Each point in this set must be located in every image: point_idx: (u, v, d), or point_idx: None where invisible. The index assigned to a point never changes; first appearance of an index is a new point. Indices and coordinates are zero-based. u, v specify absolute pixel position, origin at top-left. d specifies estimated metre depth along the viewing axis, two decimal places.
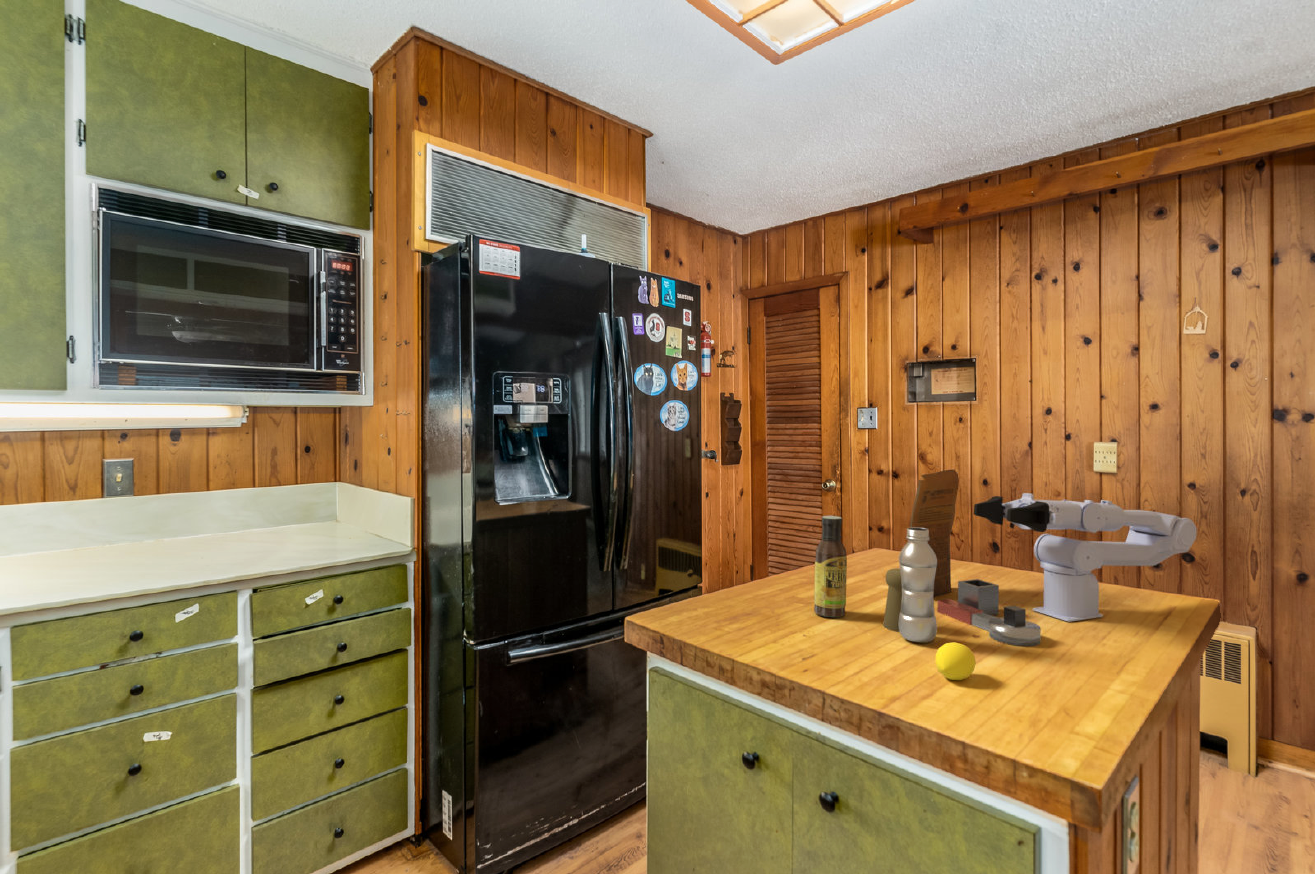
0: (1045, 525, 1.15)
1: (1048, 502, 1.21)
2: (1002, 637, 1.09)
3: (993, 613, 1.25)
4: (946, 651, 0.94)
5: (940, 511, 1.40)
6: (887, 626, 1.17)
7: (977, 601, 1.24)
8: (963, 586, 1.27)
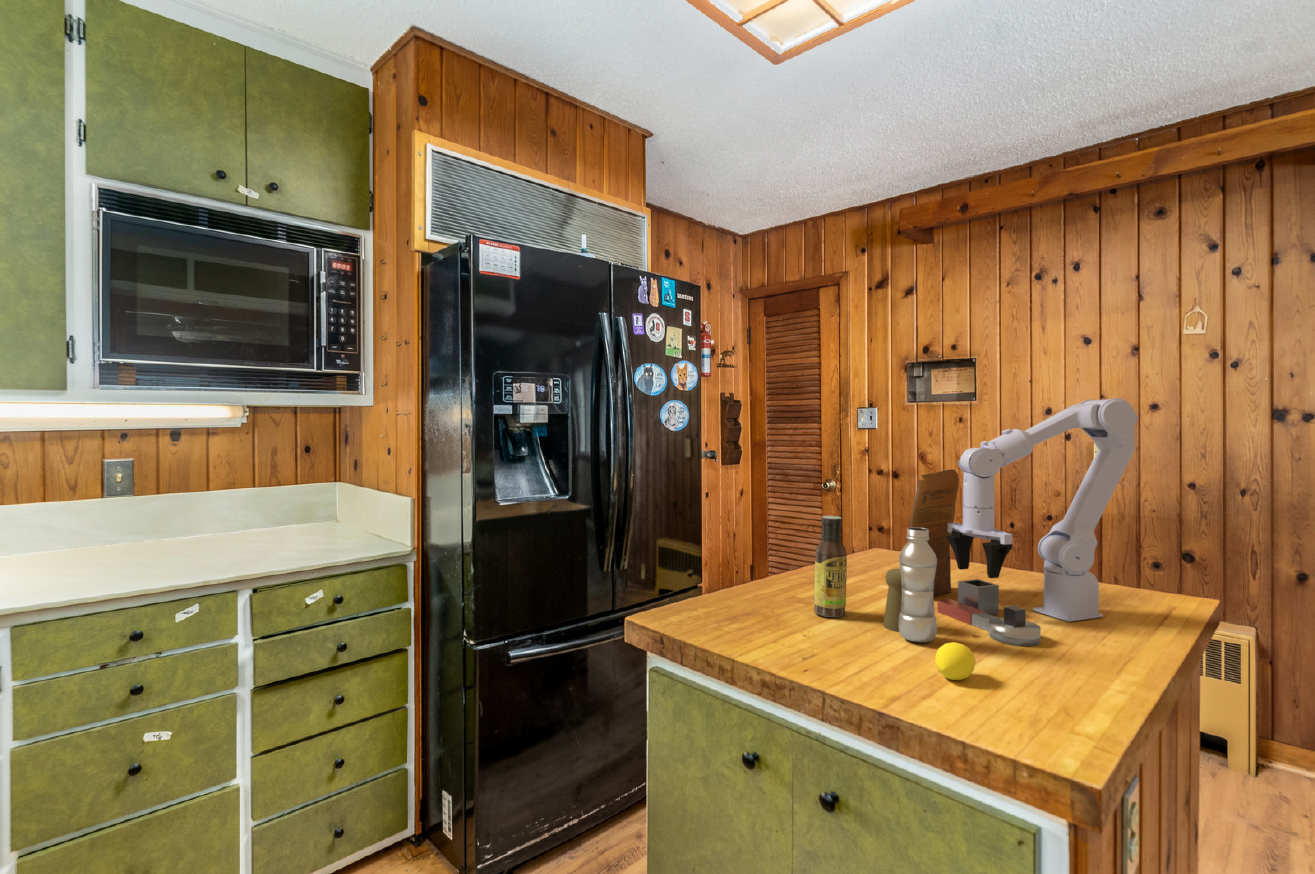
0: (1008, 546, 1.21)
1: (973, 512, 1.24)
2: (1002, 637, 1.09)
3: (993, 613, 1.25)
4: (946, 651, 0.94)
5: (940, 511, 1.40)
6: (887, 626, 1.17)
7: (977, 601, 1.24)
8: (963, 586, 1.27)
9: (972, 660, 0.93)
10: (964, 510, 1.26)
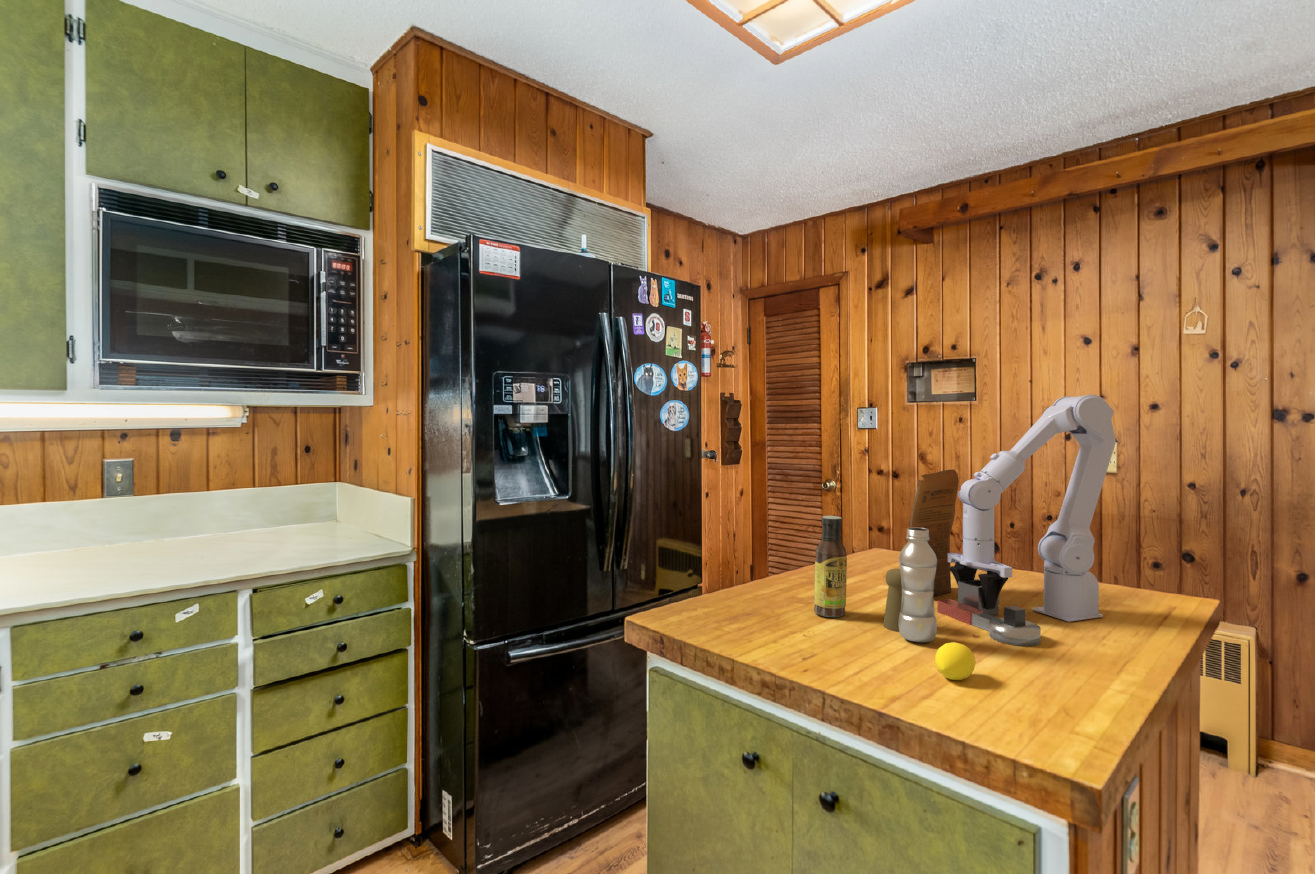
0: (1004, 578, 1.22)
1: (973, 544, 1.24)
2: (1002, 637, 1.09)
3: (993, 613, 1.25)
4: (946, 651, 0.94)
5: (940, 511, 1.40)
6: (887, 626, 1.17)
7: (977, 601, 1.24)
8: (963, 586, 1.27)
9: (972, 660, 0.93)
10: (964, 541, 1.26)
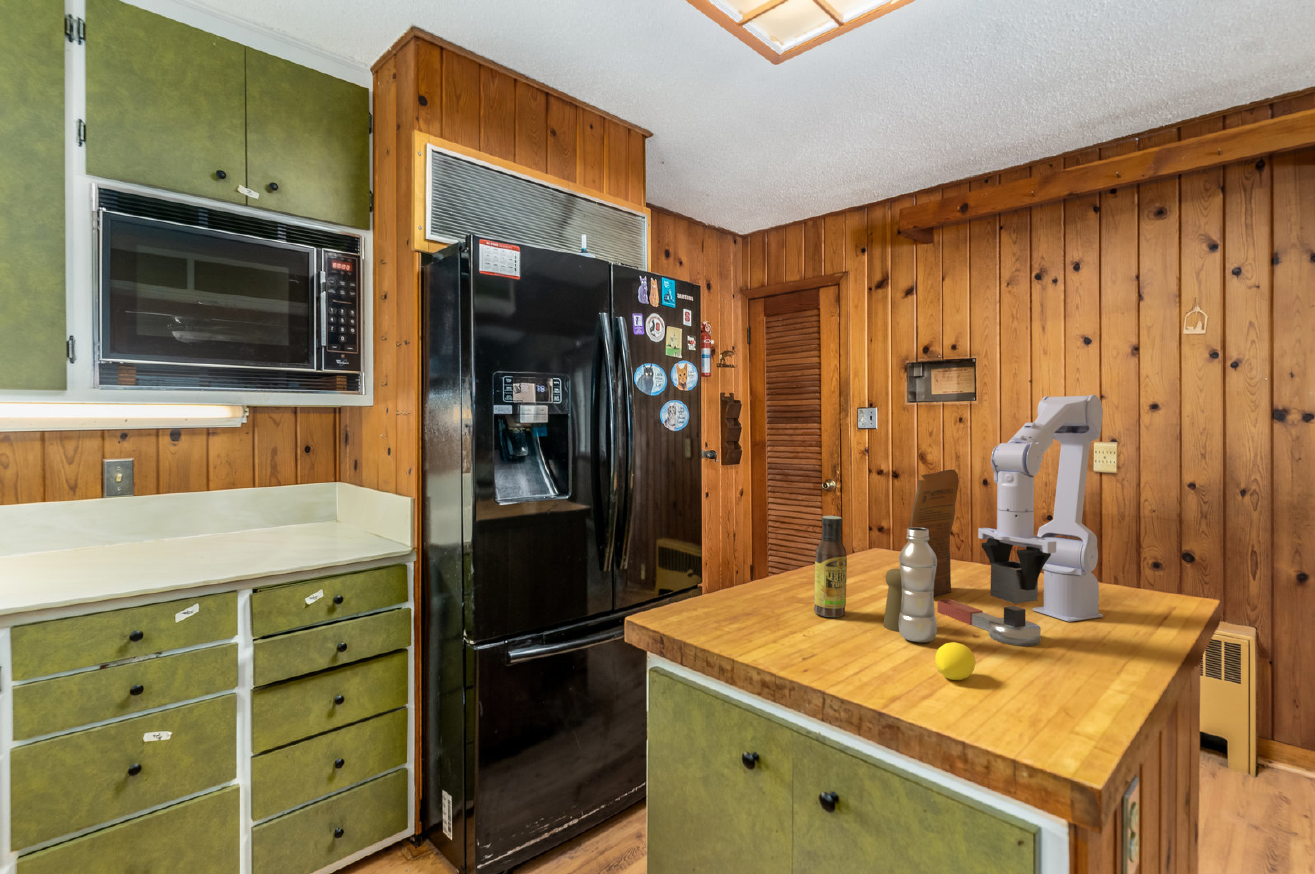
0: (1047, 554, 1.07)
1: (1010, 516, 1.09)
2: (1002, 637, 1.09)
3: (1032, 599, 1.09)
4: (946, 651, 0.94)
5: (940, 511, 1.40)
6: (887, 626, 1.17)
7: (1014, 585, 1.08)
8: (997, 568, 1.11)
9: (972, 660, 0.93)
10: (999, 514, 1.11)
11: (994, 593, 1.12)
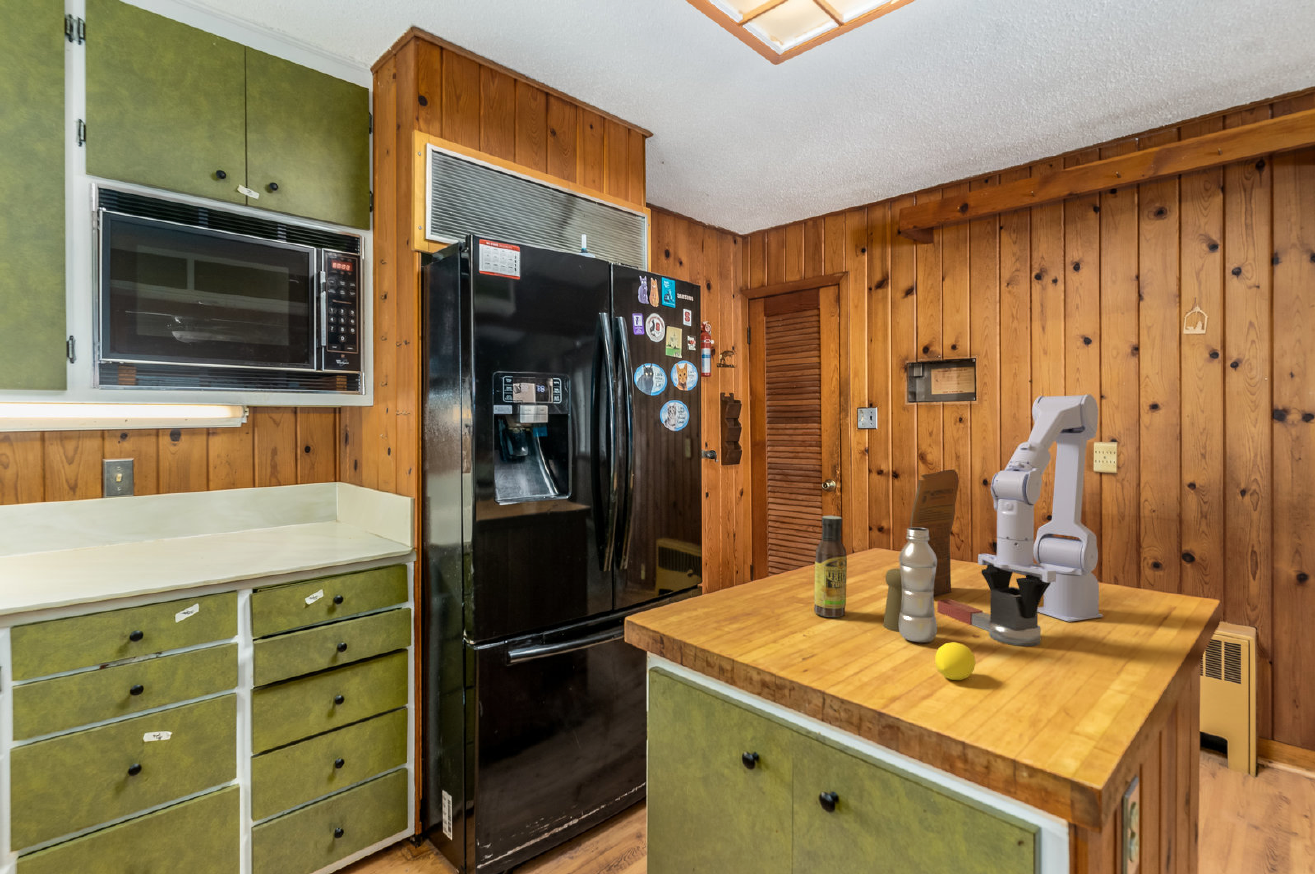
0: (1046, 583, 1.07)
1: (1010, 544, 1.09)
2: (1002, 637, 1.09)
3: (1032, 626, 1.09)
4: (946, 651, 0.94)
5: (940, 511, 1.40)
6: (887, 626, 1.17)
7: (1013, 612, 1.08)
8: (997, 595, 1.12)
9: (972, 660, 0.93)
10: (999, 541, 1.11)
11: (994, 620, 1.12)
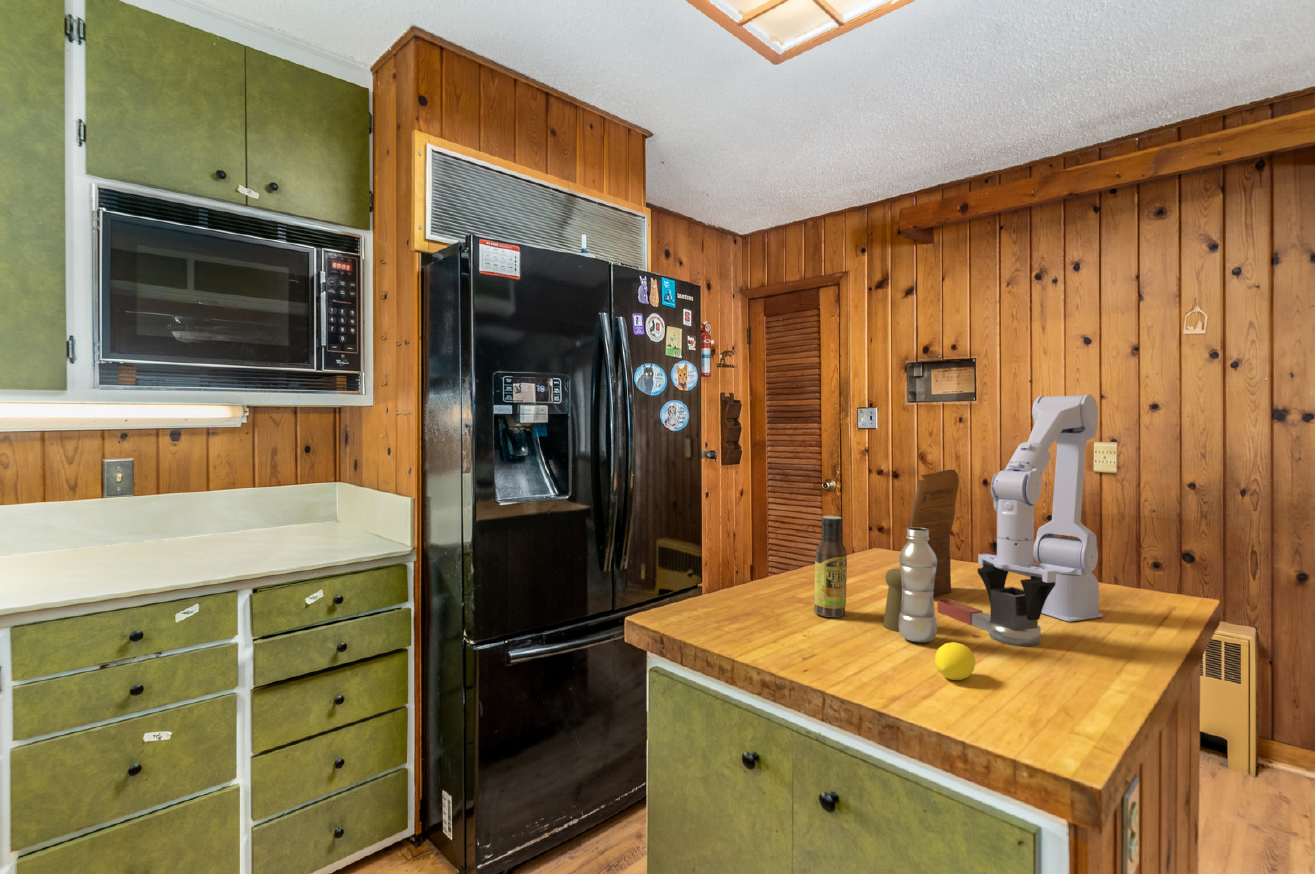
0: (1051, 584, 1.06)
1: (1010, 544, 1.09)
2: (1002, 637, 1.09)
3: (1032, 626, 1.09)
4: (946, 651, 0.94)
5: (940, 511, 1.40)
6: (887, 626, 1.17)
7: (1013, 612, 1.08)
8: (997, 595, 1.12)
9: (972, 660, 0.93)
10: (999, 541, 1.11)
11: (994, 620, 1.12)
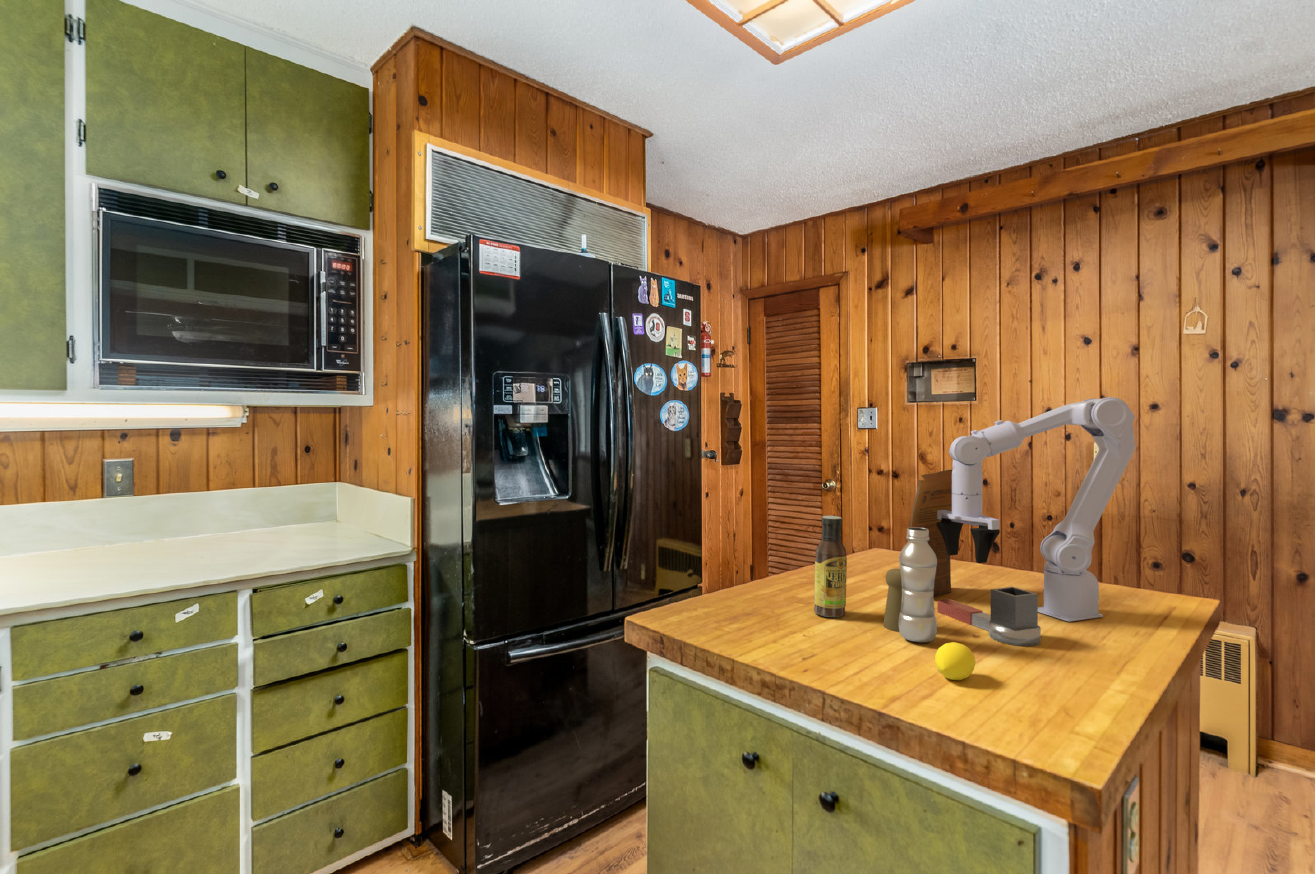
0: (996, 531, 1.24)
1: (962, 498, 1.27)
2: (1002, 637, 1.09)
3: (1032, 626, 1.09)
4: (946, 651, 0.94)
5: None
6: (887, 626, 1.17)
7: (1013, 612, 1.08)
8: (997, 595, 1.12)
9: (972, 660, 0.93)
10: (953, 497, 1.29)
11: (994, 620, 1.12)
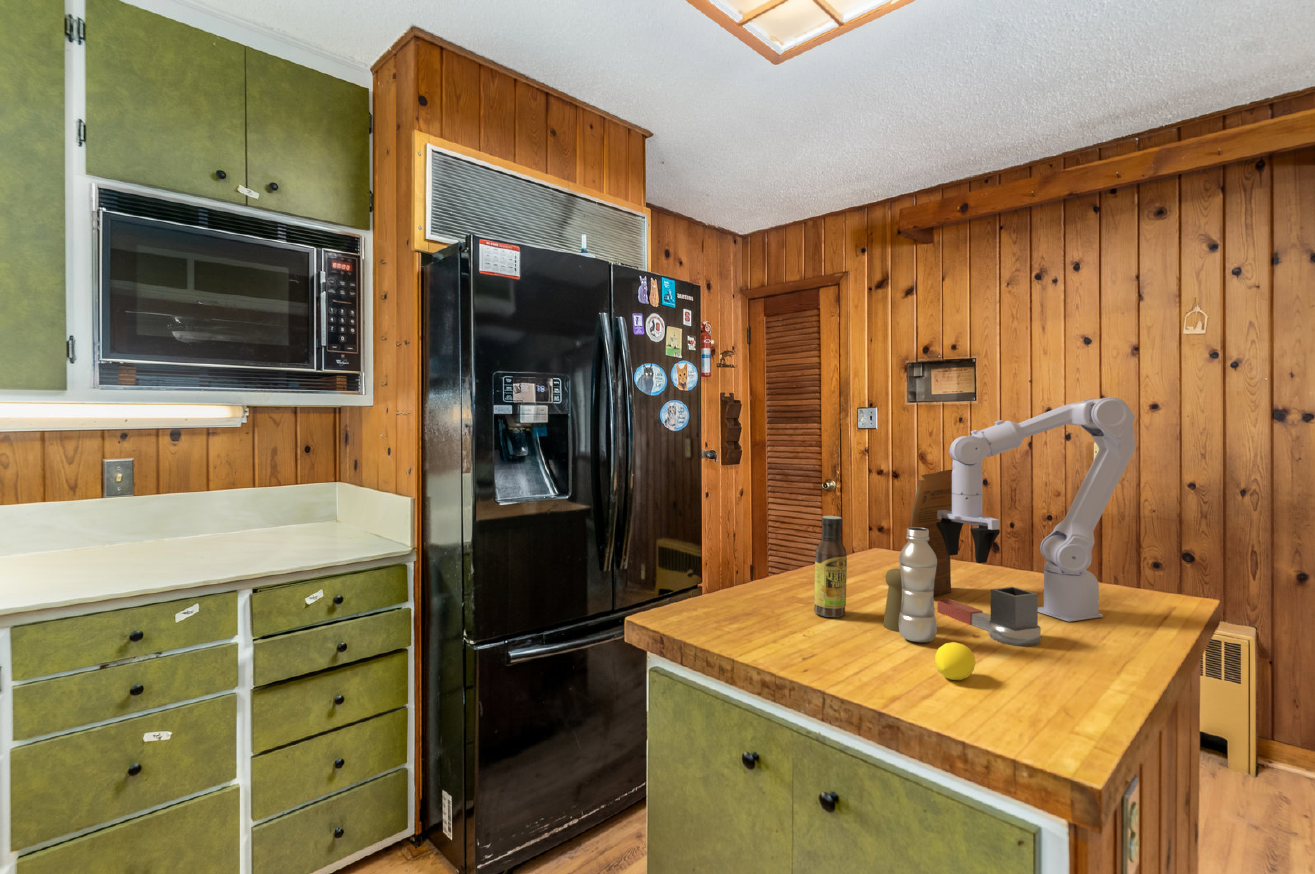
0: (996, 531, 1.24)
1: (962, 498, 1.27)
2: (1002, 637, 1.09)
3: (1032, 626, 1.09)
4: (946, 651, 0.94)
5: None
6: (887, 626, 1.17)
7: (1013, 612, 1.08)
8: (997, 595, 1.12)
9: (972, 660, 0.93)
10: (953, 497, 1.29)
11: (994, 620, 1.12)
